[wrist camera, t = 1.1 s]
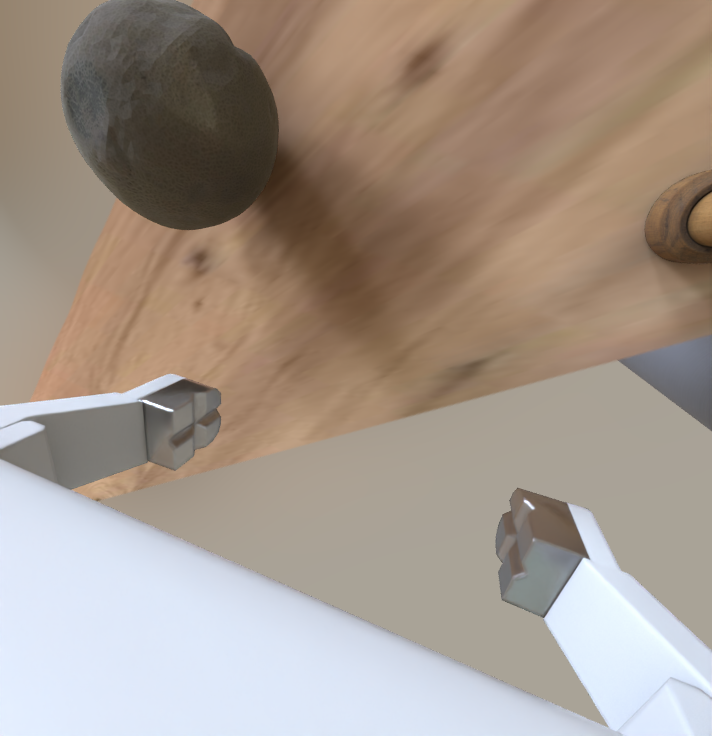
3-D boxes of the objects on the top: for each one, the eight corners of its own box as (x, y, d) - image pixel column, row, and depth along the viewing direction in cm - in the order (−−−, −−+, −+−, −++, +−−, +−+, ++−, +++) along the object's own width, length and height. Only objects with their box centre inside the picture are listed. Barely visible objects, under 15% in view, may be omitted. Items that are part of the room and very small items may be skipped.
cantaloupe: (162, 88, 33) (-39, -15, 19) (290, 38, 29) (147, -137, 15) (205, 239, 37) (66, 241, 24) (321, 216, 33) (232, 202, 20)
